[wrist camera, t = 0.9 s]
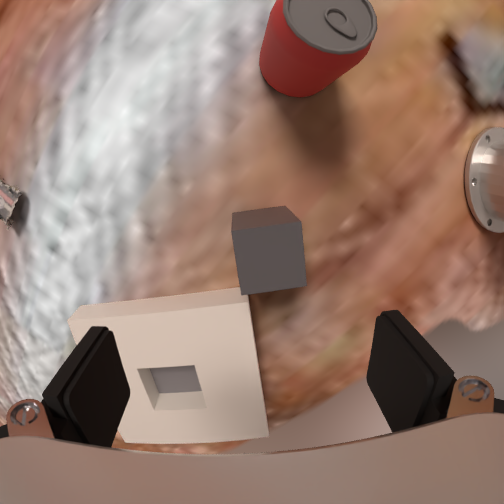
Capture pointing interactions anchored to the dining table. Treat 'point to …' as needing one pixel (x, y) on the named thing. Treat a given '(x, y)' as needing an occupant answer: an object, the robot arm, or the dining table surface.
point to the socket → (185, 366)
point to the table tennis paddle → (8, 201)
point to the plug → (268, 250)
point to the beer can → (314, 43)
